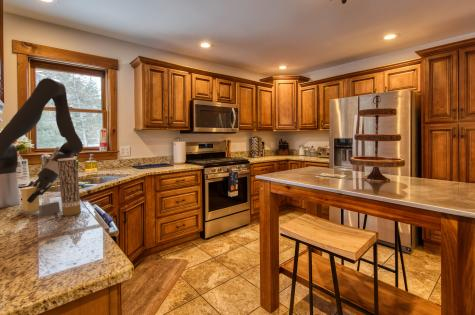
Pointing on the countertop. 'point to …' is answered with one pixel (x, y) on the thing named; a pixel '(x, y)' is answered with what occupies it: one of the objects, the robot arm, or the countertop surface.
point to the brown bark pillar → (69, 186)
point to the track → (45, 209)
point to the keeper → (27, 205)
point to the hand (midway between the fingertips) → (25, 201)
